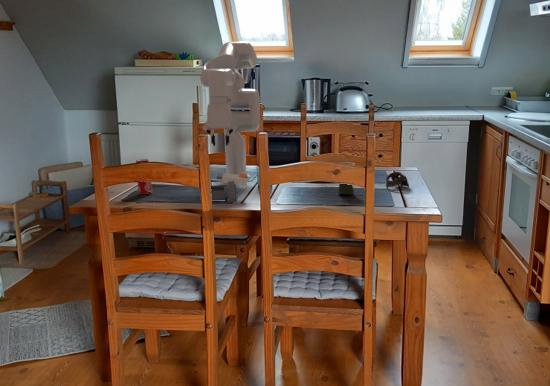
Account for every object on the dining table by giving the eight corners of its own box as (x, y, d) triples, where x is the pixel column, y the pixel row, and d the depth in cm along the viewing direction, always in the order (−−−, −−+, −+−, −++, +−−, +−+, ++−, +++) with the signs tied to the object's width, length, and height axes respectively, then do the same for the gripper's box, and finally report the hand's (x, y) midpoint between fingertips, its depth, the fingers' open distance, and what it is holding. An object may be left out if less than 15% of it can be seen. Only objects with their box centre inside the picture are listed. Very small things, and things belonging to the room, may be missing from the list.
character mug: (354, 197, 237) (354, 166, 234) (336, 197, 238) (336, 166, 235) (354, 191, 247) (354, 161, 244) (337, 191, 248) (337, 161, 245)
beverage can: (144, 196, 247) (142, 161, 244) (134, 194, 251) (132, 160, 248) (155, 193, 252) (153, 159, 249) (145, 191, 256) (143, 158, 252)
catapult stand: (229, 194, 246) (228, 175, 244) (237, 194, 246) (236, 174, 245) (227, 203, 233) (226, 182, 231) (236, 202, 233) (235, 182, 231)
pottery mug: (413, 191, 248) (407, 175, 244) (393, 201, 249) (386, 186, 245) (404, 178, 259) (398, 163, 255) (385, 188, 260) (378, 173, 256)
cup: (210, 196, 244) (209, 178, 242) (226, 196, 244) (225, 177, 242) (208, 202, 235) (207, 182, 233) (225, 201, 235) (224, 182, 233)
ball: (238, 179, 240) (239, 170, 239) (246, 180, 240) (248, 172, 239) (237, 180, 236) (239, 172, 235) (246, 182, 236) (247, 174, 236)
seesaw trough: (217, 175, 247) (218, 167, 246) (249, 179, 248) (249, 171, 247) (215, 182, 234) (216, 173, 234) (248, 185, 235) (249, 177, 234)
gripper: (239, 99, 241) (241, 143, 246) (198, 100, 241) (200, 144, 245) (239, 100, 234) (240, 146, 238) (196, 101, 234) (199, 147, 238)
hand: (220, 144), depth 242 cm, fingers open, 4 cm apart
